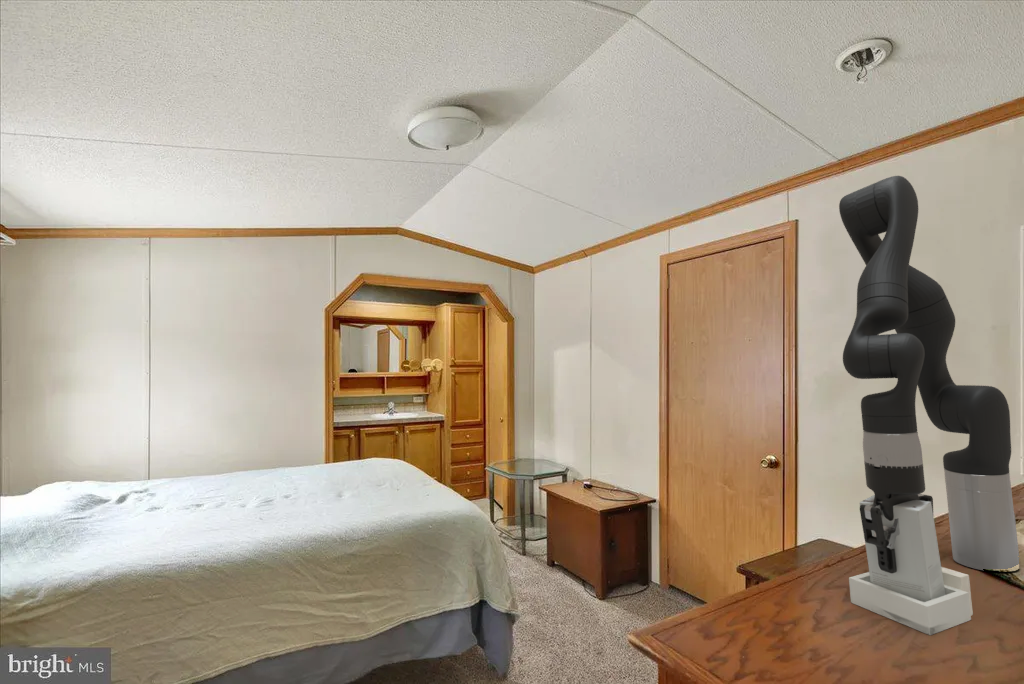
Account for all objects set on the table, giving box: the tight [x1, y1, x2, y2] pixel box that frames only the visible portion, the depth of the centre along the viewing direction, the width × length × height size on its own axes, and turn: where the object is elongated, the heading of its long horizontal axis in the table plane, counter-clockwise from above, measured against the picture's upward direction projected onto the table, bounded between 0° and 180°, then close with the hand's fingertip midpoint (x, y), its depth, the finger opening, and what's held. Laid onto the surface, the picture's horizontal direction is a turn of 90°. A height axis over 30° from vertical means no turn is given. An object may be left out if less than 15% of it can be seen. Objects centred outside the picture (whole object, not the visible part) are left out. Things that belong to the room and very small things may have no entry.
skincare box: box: [859, 494, 945, 602], centre depth 81 cm, size 8×6×15 cm
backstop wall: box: [941, 566, 974, 616], centre depth 83 cm, size 2×10×6 cm, turn 21°
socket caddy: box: [848, 571, 972, 636], centre depth 81 cm, size 10×12×4 cm
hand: (902, 566), depth 81 cm, fingers closed on skincare box, 6 cm apart
